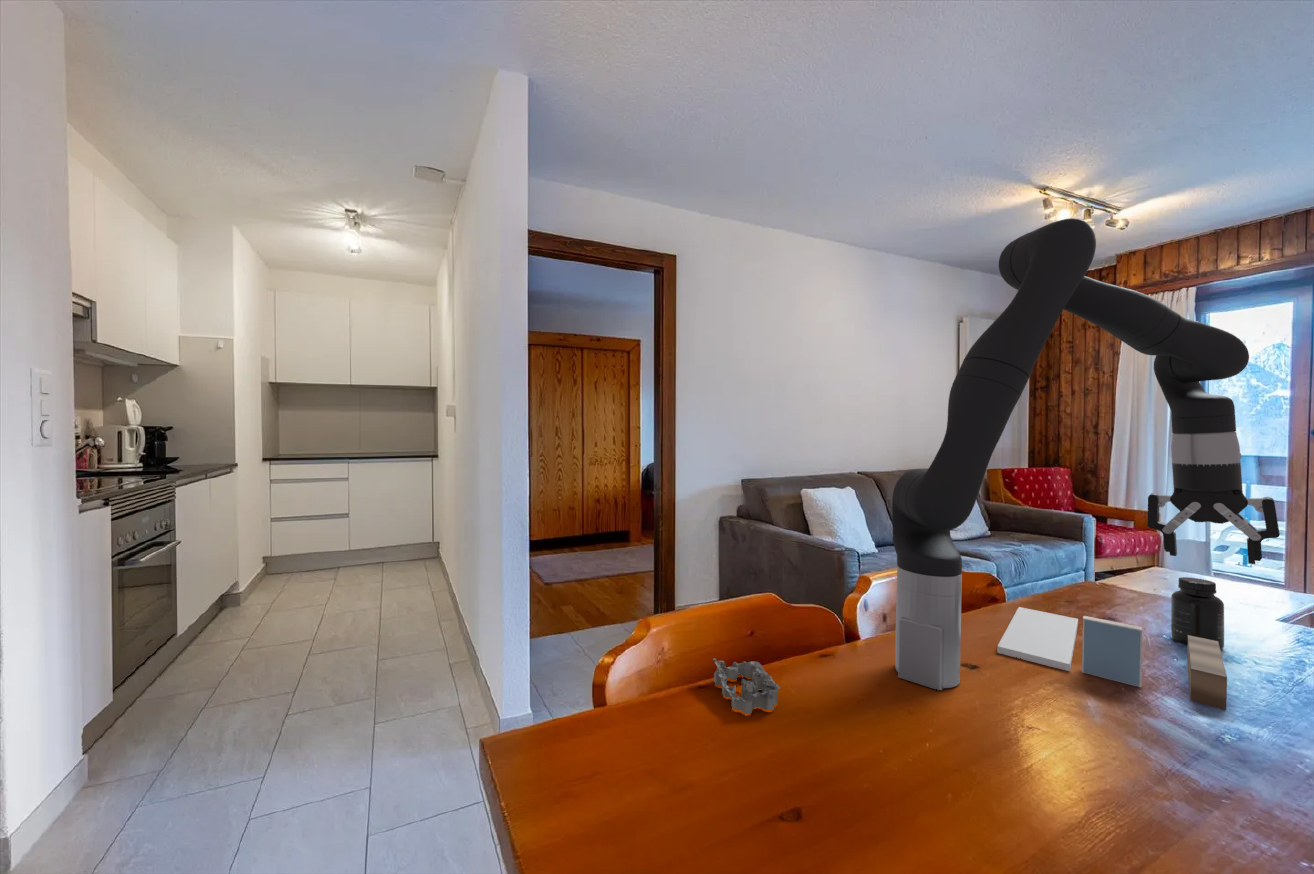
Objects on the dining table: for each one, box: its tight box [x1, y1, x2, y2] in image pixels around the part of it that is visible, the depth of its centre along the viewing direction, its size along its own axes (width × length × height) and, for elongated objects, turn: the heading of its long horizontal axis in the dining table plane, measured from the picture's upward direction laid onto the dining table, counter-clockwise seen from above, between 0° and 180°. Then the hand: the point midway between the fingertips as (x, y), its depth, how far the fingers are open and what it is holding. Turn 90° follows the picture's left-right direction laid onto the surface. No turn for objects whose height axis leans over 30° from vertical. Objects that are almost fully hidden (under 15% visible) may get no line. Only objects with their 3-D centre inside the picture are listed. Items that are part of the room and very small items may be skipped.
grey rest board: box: [996, 606, 1079, 672], centre depth 95 cm, size 28×10×1 cm, turn 137°
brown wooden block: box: [1186, 635, 1228, 711], centre depth 78 cm, size 18×4×5 cm, turn 134°
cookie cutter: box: [711, 657, 782, 714], centre depth 73 cm, size 11×8×4 cm
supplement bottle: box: [1170, 576, 1225, 650], centre depth 94 cm, size 7×7×12 cm
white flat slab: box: [1081, 615, 1143, 688], centre depth 80 cm, size 2×7×9 cm, turn 47°
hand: (1211, 558), depth 81 cm, fingers open, 8 cm apart
